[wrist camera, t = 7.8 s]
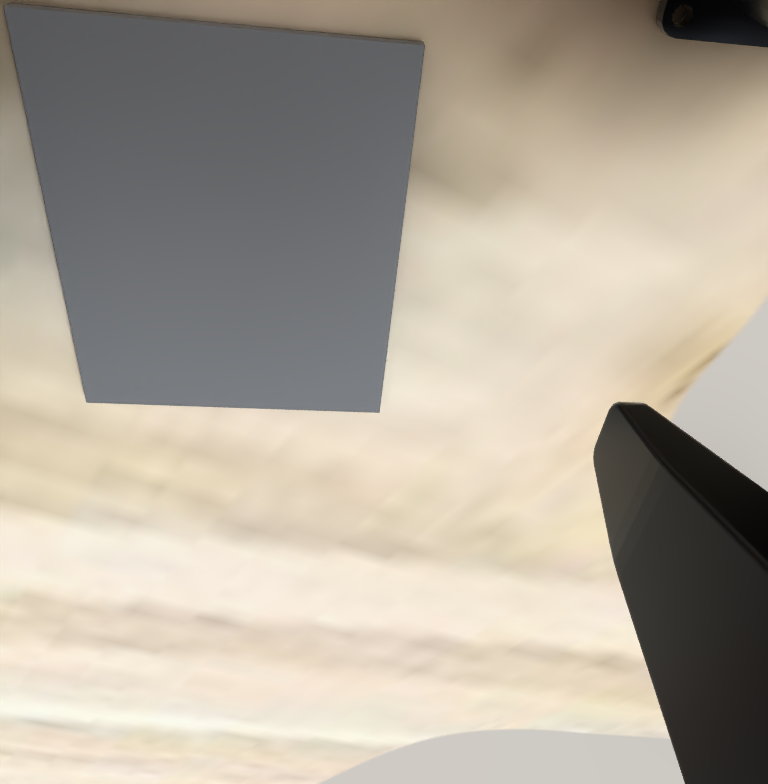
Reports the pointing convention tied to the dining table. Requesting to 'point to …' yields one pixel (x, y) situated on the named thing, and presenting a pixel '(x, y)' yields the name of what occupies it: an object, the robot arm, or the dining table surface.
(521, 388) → the dining table surface
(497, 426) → the dining table surface
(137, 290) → the mat
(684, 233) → the dining table surface
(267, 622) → the dining table surface
